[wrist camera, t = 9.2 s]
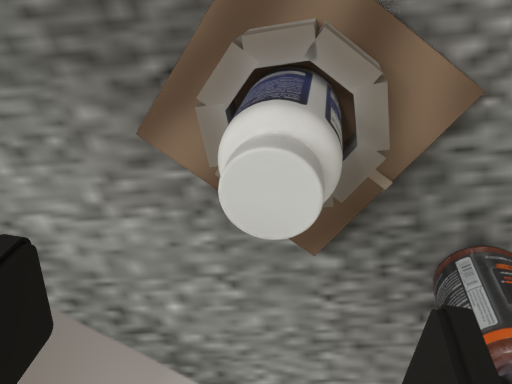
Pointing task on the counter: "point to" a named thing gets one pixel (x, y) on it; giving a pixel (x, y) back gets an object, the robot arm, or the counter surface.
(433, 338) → the robot arm
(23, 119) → the counter surface
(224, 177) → the pill bottle
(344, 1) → the hub board
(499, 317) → the supplement bottle
